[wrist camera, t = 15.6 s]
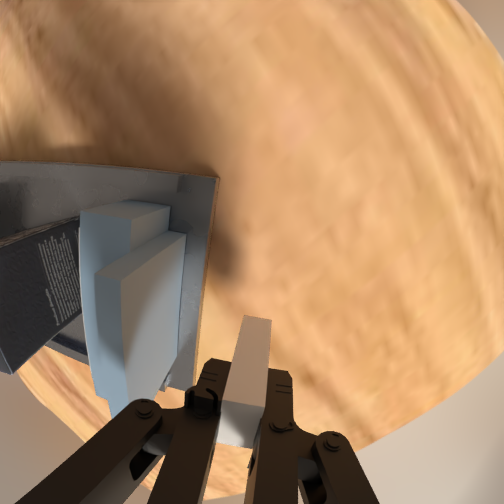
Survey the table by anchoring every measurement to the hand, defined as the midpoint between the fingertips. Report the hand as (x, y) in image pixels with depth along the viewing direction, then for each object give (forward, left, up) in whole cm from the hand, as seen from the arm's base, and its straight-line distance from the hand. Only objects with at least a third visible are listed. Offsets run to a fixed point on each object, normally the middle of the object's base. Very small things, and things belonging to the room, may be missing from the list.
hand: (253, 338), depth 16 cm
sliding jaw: (0, -7, -3) cm, 8 cm away
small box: (0, -17, -3) cm, 17 cm away
